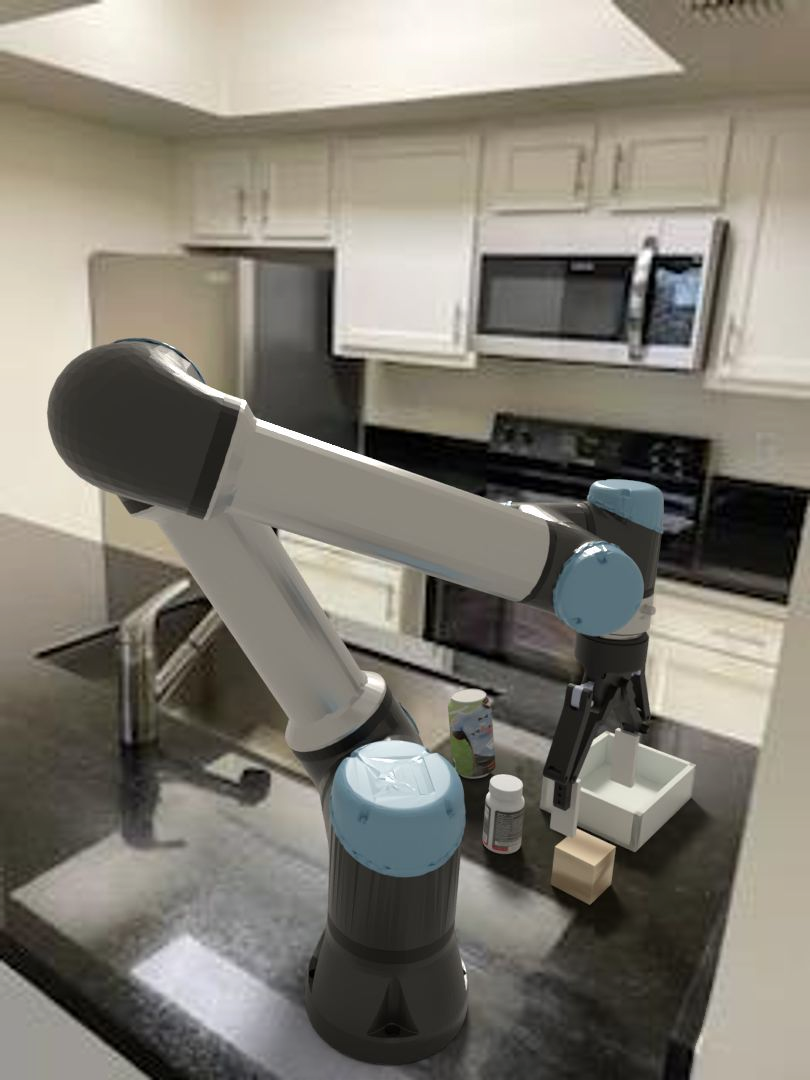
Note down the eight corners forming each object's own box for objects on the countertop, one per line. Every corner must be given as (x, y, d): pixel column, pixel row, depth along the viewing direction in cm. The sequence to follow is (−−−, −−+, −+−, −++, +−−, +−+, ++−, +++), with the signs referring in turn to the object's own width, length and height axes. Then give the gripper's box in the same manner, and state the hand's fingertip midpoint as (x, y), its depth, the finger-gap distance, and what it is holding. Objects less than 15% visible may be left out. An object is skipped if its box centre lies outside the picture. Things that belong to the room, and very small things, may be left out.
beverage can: (492, 787, 116) (499, 707, 113) (439, 779, 117) (445, 699, 114) (496, 765, 122) (503, 688, 119) (446, 757, 123) (452, 681, 120)
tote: (635, 852, 103) (640, 816, 102) (539, 808, 111) (543, 774, 110) (691, 797, 116) (696, 764, 115) (602, 761, 124) (606, 730, 123)
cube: (589, 905, 93) (594, 866, 92) (550, 884, 96) (554, 846, 95) (610, 884, 97) (615, 846, 95) (572, 865, 100) (576, 828, 99)
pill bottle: (528, 844, 103) (534, 783, 101) (505, 860, 100) (511, 797, 98) (497, 827, 106) (503, 768, 104) (474, 842, 103) (479, 781, 101)
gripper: (587, 670, 77) (567, 871, 82) (693, 609, 96) (671, 776, 101) (518, 648, 82) (503, 840, 87) (632, 593, 100) (614, 754, 105)
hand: (593, 806), depth 94 cm, fingers open, 13 cm apart
